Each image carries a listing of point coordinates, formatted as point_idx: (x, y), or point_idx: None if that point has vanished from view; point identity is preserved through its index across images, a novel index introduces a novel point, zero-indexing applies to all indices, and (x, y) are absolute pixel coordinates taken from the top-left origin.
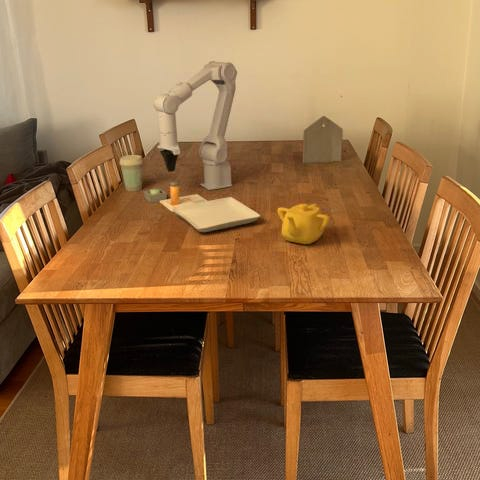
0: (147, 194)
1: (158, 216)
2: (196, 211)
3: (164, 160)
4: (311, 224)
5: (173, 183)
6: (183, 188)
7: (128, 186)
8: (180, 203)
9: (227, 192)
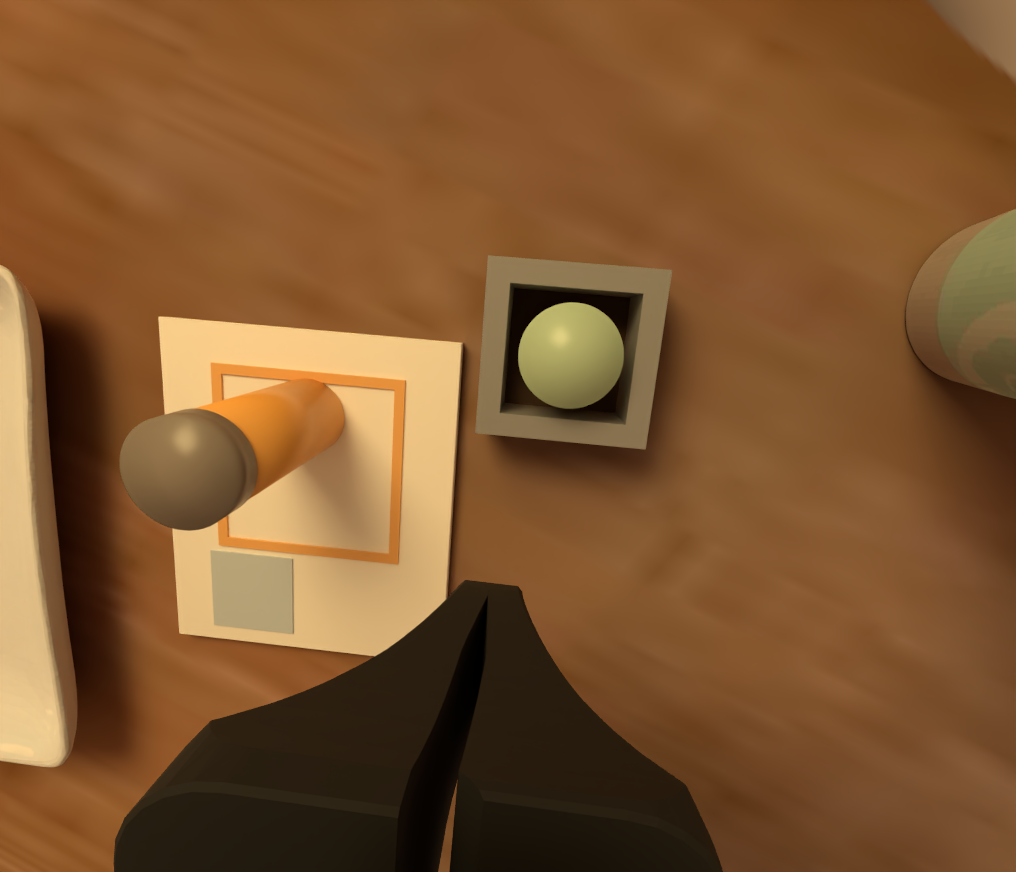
0: (559, 261)
1: (122, 169)
2: (24, 451)
3: (554, 671)
4: None
5: (129, 439)
6: (682, 665)
7: (1004, 215)
8: None
9: None
